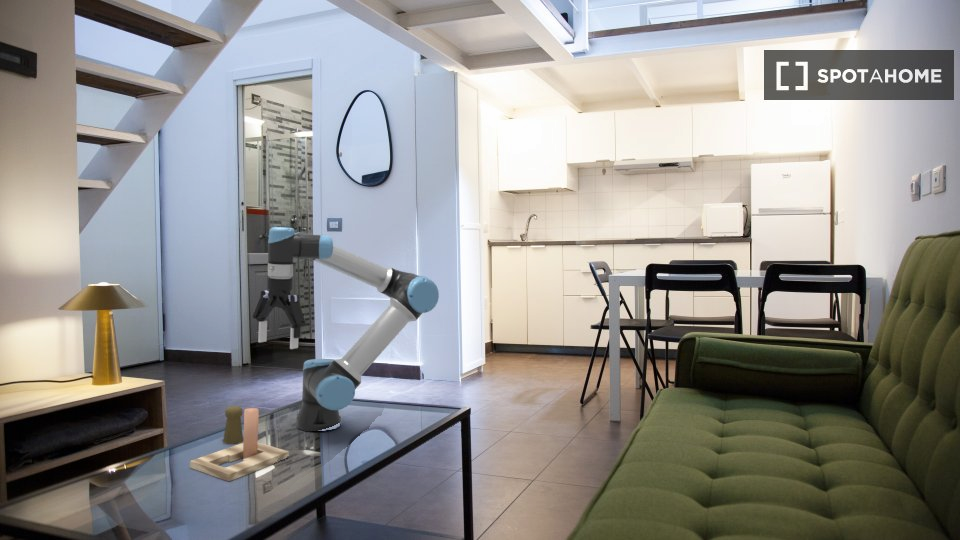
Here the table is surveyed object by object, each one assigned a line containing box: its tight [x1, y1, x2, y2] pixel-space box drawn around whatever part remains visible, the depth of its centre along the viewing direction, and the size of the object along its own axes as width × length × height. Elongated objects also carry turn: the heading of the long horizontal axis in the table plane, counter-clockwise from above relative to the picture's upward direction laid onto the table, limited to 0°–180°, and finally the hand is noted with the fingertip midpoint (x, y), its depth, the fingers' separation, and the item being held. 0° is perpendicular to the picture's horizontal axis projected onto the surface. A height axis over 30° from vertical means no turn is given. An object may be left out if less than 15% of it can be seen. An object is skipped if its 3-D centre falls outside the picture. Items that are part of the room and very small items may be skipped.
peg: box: [242, 407, 260, 460], centre depth 201 cm, size 4×4×15 cm
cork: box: [222, 405, 244, 445], centre depth 216 cm, size 6×6×11 cm
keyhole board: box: [189, 441, 290, 482], centre depth 199 cm, size 22×16×2 cm
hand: (277, 345), depth 213 cm, fingers open, 13 cm apart
